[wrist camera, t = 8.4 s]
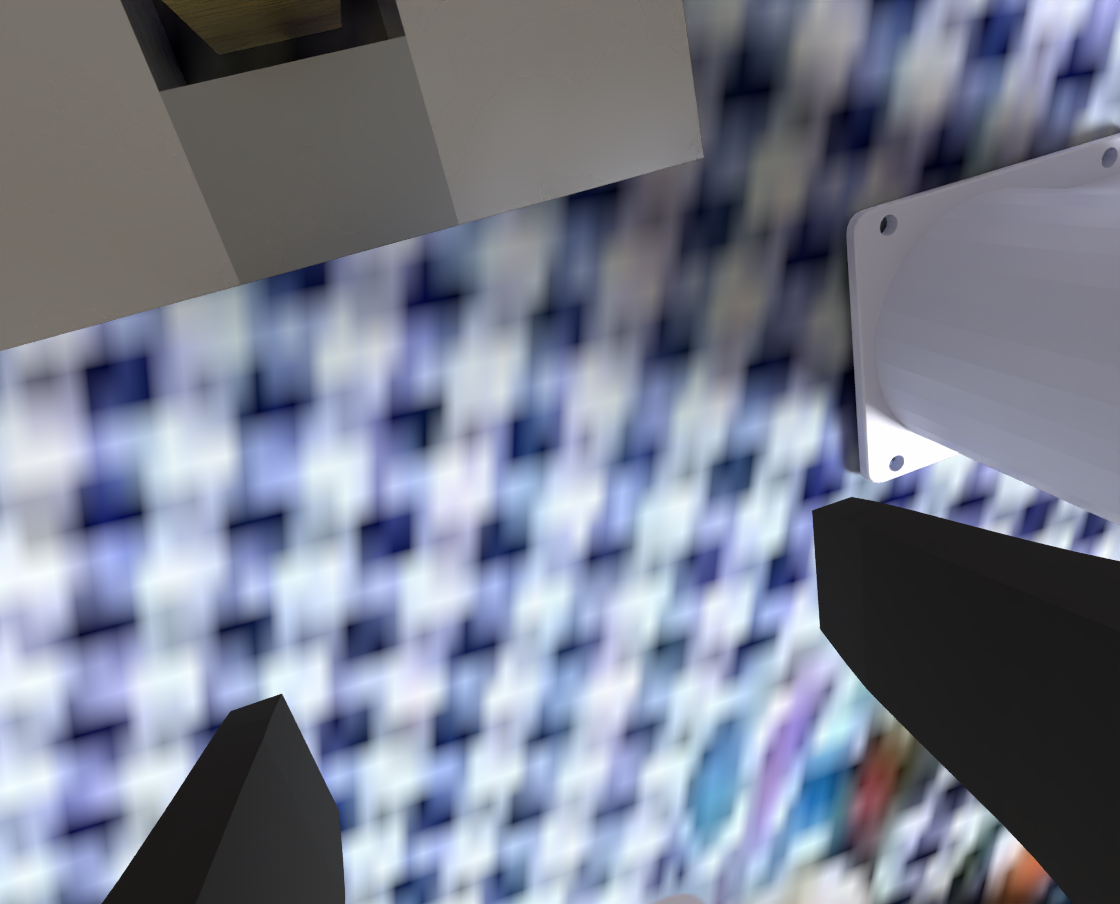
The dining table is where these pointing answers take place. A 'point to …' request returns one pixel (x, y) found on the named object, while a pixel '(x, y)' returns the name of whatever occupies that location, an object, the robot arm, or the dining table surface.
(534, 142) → the grey slotted plate
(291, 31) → the wood grain block
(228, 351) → the dining table surface
